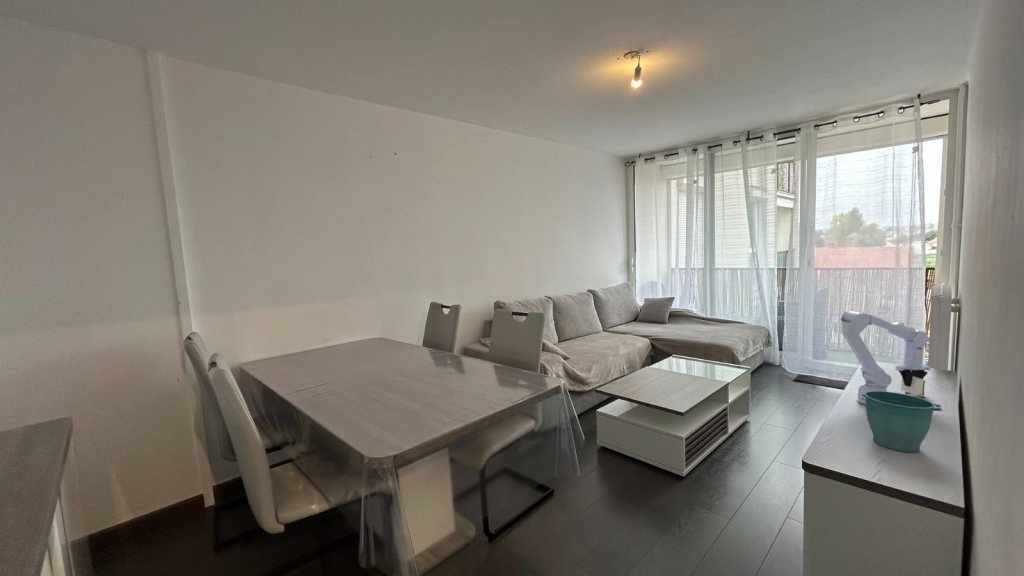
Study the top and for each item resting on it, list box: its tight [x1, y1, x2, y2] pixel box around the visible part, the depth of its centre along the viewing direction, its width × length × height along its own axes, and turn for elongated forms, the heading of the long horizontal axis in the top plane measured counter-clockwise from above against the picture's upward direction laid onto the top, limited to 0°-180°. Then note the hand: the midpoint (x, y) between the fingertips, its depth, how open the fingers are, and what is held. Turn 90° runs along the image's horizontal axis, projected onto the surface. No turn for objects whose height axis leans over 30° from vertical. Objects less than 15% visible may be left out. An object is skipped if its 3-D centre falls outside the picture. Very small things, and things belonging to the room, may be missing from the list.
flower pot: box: [864, 391, 935, 453], centre depth 143 cm, size 18×18×17 cm
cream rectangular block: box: [900, 376, 924, 395], centre depth 181 cm, size 4×6×7 cm, turn 2°
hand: (911, 386), depth 181 cm, fingers closed on cream rectangular block, 3 cm apart
